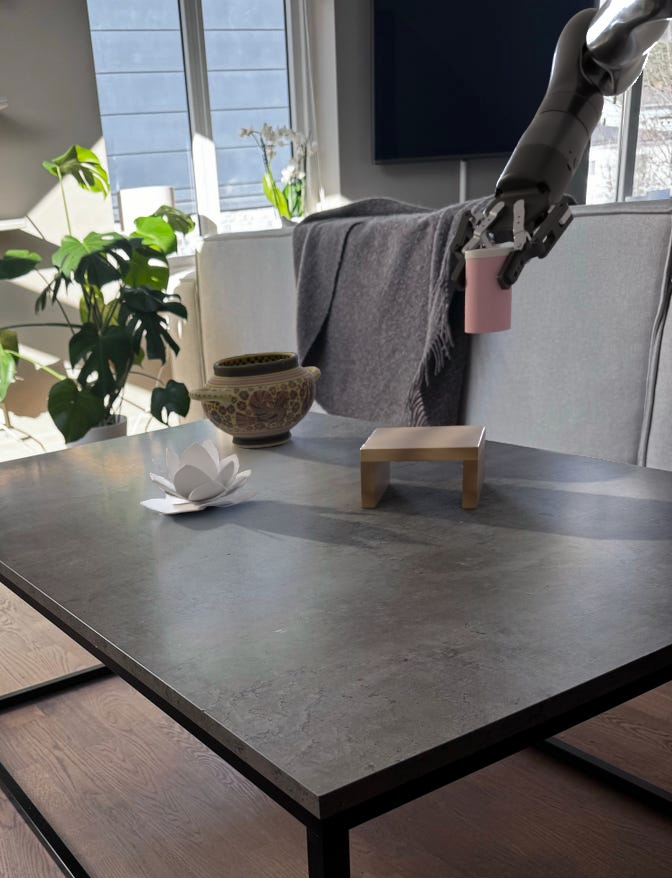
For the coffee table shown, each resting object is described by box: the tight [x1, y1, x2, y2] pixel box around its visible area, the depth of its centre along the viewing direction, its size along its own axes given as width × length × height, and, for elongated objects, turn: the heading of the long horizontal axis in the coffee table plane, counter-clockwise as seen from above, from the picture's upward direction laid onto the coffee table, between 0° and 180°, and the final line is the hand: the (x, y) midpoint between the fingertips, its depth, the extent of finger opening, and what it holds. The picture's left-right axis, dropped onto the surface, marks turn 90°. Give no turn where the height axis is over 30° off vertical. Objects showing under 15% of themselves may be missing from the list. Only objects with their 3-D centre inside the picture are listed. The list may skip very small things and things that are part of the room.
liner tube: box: [464, 245, 514, 334], centre depth 107 cm, size 5×5×9 cm
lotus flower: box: [140, 437, 260, 516], centre depth 114 cm, size 14×15×9 cm
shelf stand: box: [359, 424, 487, 510], centre depth 108 cm, size 13×11×7 cm
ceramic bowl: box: [188, 351, 322, 449], centre depth 142 cm, size 24×18×15 cm
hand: (479, 285), depth 106 cm, fingers closed on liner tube, 5 cm apart
